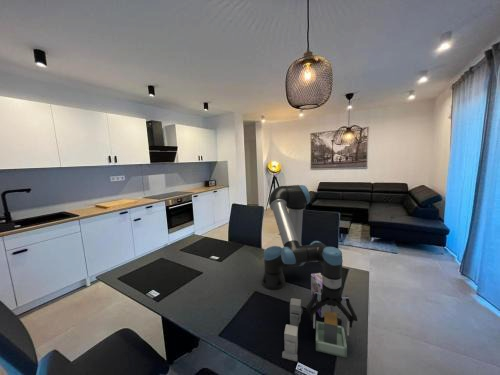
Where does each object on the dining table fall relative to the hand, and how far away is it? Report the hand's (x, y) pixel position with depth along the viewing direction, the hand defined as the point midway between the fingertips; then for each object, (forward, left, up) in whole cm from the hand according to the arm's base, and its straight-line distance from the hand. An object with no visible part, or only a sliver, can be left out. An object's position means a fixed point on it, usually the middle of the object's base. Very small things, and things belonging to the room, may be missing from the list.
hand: (330, 329), depth 91 cm
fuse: (0, 0, -5) cm, 5 cm away
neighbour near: (-16, -8, -6) cm, 19 cm away
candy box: (-4, +21, -7) cm, 22 cm away
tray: (0, 0, -6) cm, 6 cm away
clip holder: (-16, +1, -6) cm, 17 cm away
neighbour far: (-16, +10, -6) cm, 20 cm away
